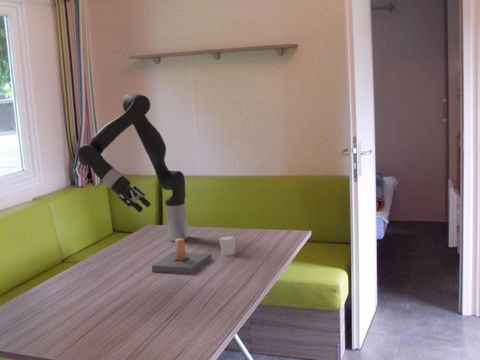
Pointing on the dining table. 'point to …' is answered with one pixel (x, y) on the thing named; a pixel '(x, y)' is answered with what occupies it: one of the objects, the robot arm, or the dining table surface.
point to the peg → (180, 250)
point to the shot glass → (227, 245)
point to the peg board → (181, 263)
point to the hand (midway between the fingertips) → (145, 208)
